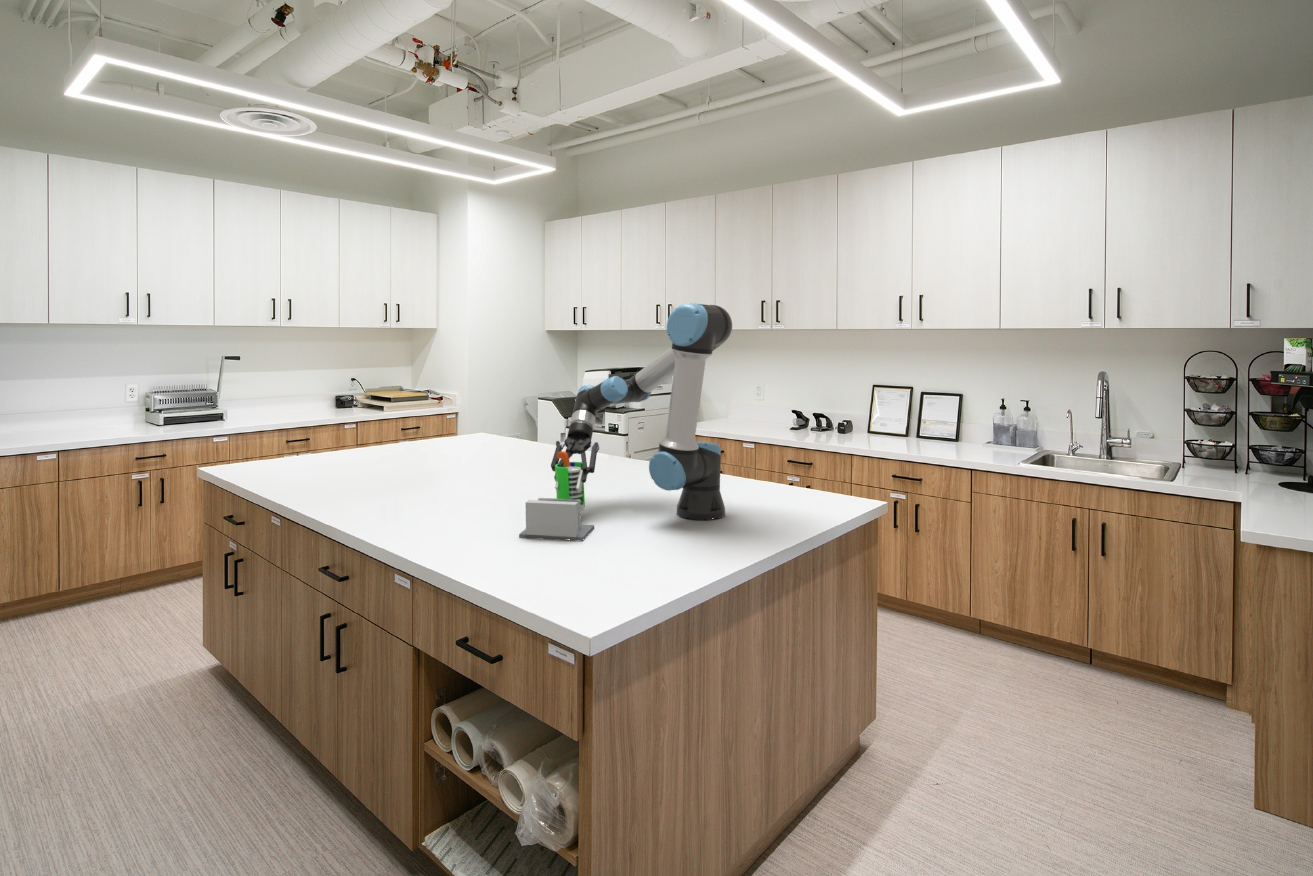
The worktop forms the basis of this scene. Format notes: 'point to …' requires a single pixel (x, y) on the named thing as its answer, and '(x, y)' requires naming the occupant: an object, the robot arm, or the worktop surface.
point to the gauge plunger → (566, 501)
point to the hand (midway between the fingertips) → (567, 490)
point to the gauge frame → (553, 521)
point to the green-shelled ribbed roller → (569, 479)
